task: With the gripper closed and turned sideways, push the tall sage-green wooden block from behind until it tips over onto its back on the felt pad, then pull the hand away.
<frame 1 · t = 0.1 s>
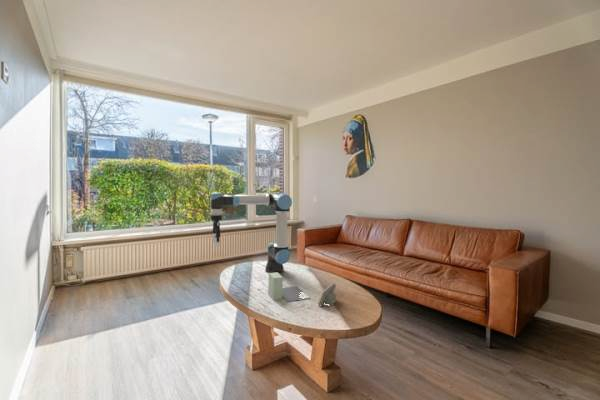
hand: (216, 244, 202), 28 cm above the table, tool pointing down, fingers open, 13 cm apart
felt pad: (292, 293, 189), on the table
digital clock: (326, 303, 177), on the table
sage block: (275, 296, 184), on the table
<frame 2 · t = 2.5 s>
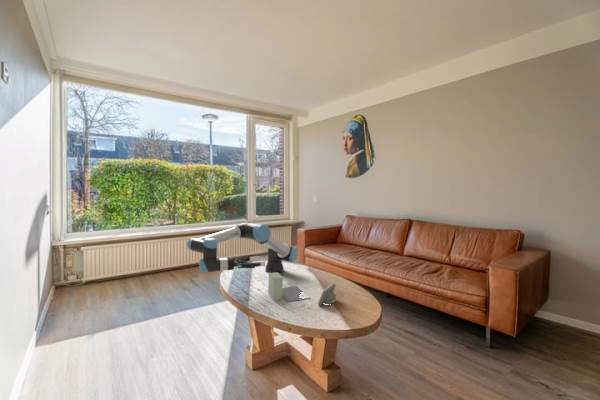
hand: (262, 260, 179), 24 cm above the table, tool horizontal, fingers open, 11 cm apart
nothing on the table moved.
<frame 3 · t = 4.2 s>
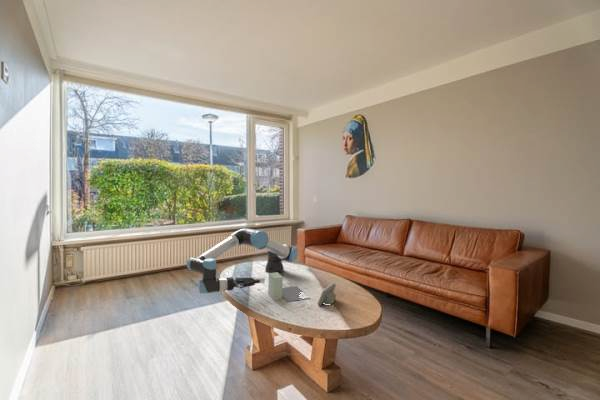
hand: (264, 280, 180), 12 cm above the table, tool horizontal, fingers closed
nothing on the table moved.
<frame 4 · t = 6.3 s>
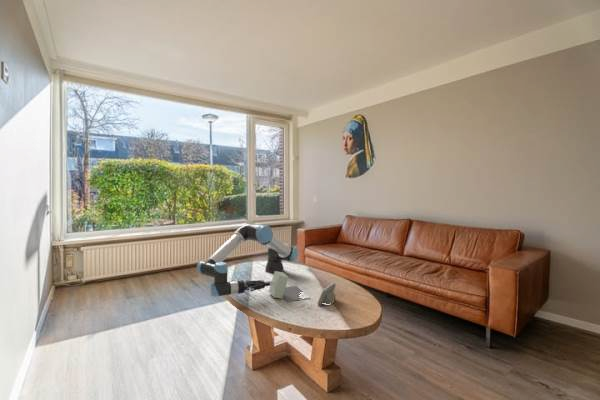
hand: (274, 282, 182), 9 cm above the table, tool horizontal, fingers closed
sage block: (275, 295, 184), point 1 cm above the table, tilted 16°, touching gripper
everything else where it was.
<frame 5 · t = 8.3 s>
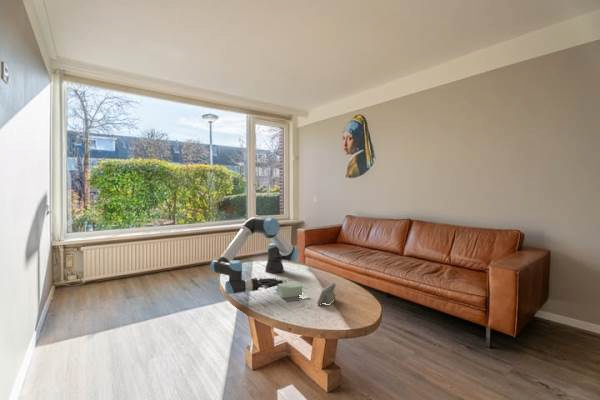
hand: (286, 280, 186), 9 cm above the table, tool horizontal, fingers closed
sage block: (279, 290, 185), point 3 cm above the table, tilted 90°, touching felt pad
everything else where it was.
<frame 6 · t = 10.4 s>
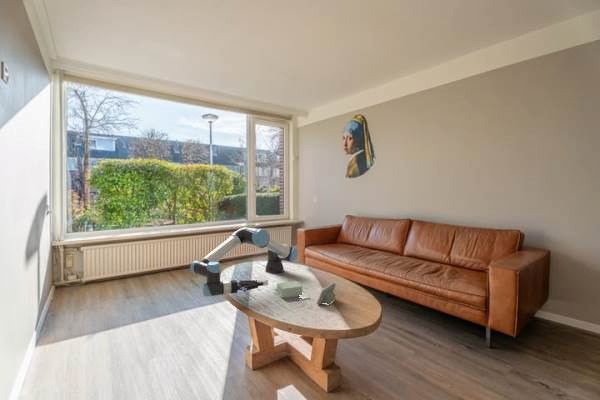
hand: (267, 282, 181), 10 cm above the table, tool horizontal, fingers closed
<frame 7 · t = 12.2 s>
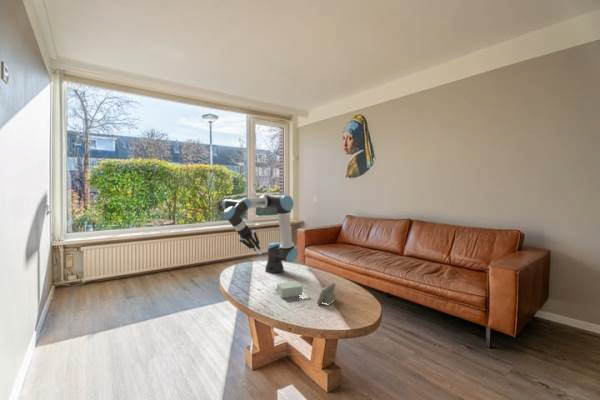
hand: (260, 253, 194), 25 cm above the table, tool tilted 40°, fingers closed
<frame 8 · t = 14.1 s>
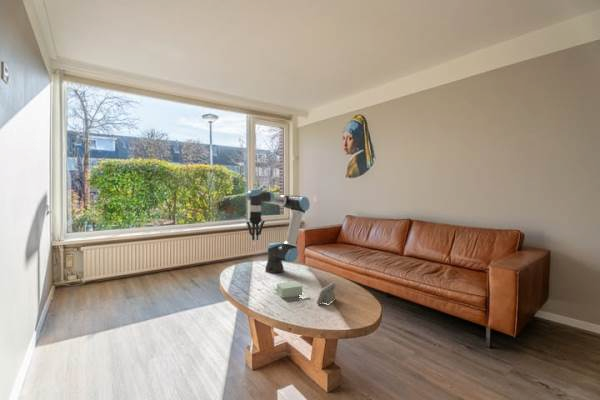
hand: (254, 244, 199), 29 cm above the table, tool pointing down, fingers closed
at the end: sage block tilted 90°; sage block touching felt pad; sage block inside the target area (0.1 cm from its centre), point 3.4 cm above the table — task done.
